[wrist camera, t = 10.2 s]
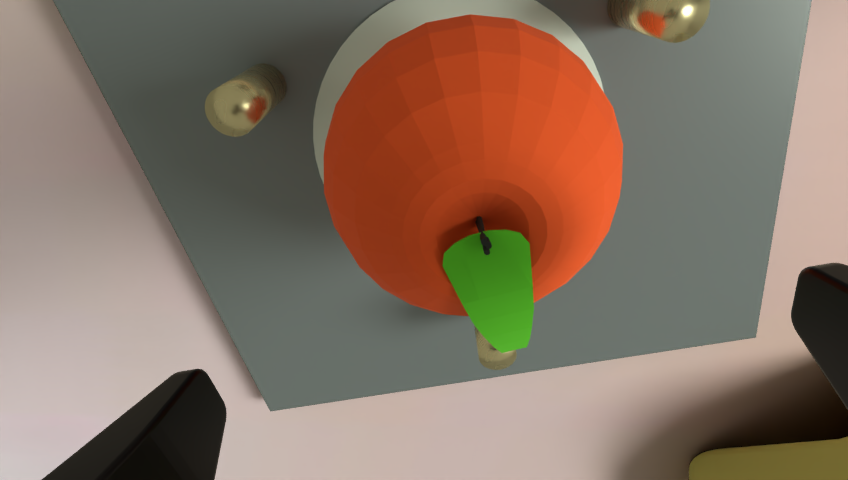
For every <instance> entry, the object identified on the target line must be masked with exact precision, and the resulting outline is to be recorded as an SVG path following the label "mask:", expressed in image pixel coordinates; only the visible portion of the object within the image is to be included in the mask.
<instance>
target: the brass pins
mask: <svg viewBox="0 0 848 480" xmlns="http://www.w3.org/2000/svg"><path fill="white" fill-rule="evenodd" d="M709 10H710V0H608V5H607V11H608V15H609V18H610V20H611V21H612V22H613V23H614V24H615V25H617V26H619V27H622V28H625V29H629V30H632V31H635V32H638V33H641V34H644V35H647V36H651V37H654V38H657V39H660V40H663V41H666V42H670V43H678V42H682V41H685V40H687V39H689V38H691V37H692V36H694V35H695V34H696V33H697V32H698V31H699V30H700V29H701V28H702V26H703V25H704V23H705V22H706V20H707V17H708V14H709ZM286 91H287V85H286V81H285V78H284V76H283V75H282V73H281V72H280V71H279V70H278V69H277V68H275V67H274V66H272V65H269V64H264V63H261V64H256V65H254V66H252V67H251V68H249V69H247V70H246V71H244V72H242V73H241V74H239V75H237V76H236V77H234V78H232V79H231V80H229V81H227V82H226V83H224V84H222V85H221V86H219V87H217V88H216V89H214V90H212V91H211V92H210V93H209V95H208V96H207V98H206V101H205V113H206V116H207V118H208V120H209V122H210V123H211V125H212V126H213V127H214V128H215V129H216V130H218V131H219V132H221V133H222V134H224V135H227V136H232V137H239V136H243V135H245V134H247V133H249V132H250V131H251V130H252V129H253V128H254V127H255V126H256V125H257V124H258V123H259V122H260V121H261V120H262V119H263V118H264V117H265V116H266V115H267V114H268V113H269V112H270V111H272V110H273V109H274V108H275V107H276V106H277V105H278V104H279V103H280V102H281V101H282V100H283V99H284V97H285V95H286ZM474 328H475V335H476V342H477V349H478V356H479V361H480V363H481V364H482V365H483V366H484V367H486V368H488V369H492V370H501V369H505V368H507V367H509V366H510V365H512V364H513V363H514V361H515V359H516V356H517V353H516V350H513V351H508V352H504V353H501V352H500V351H498V350H497V349H496V348H494V347H493V346H492V345H491V344H490V343H489V342H488V341H487V340H486V339H485V338H484V336H483V335H482V334H481V333H480V331H479V330H478V329H477V328H476V326H475V325H474Z"/></svg>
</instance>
